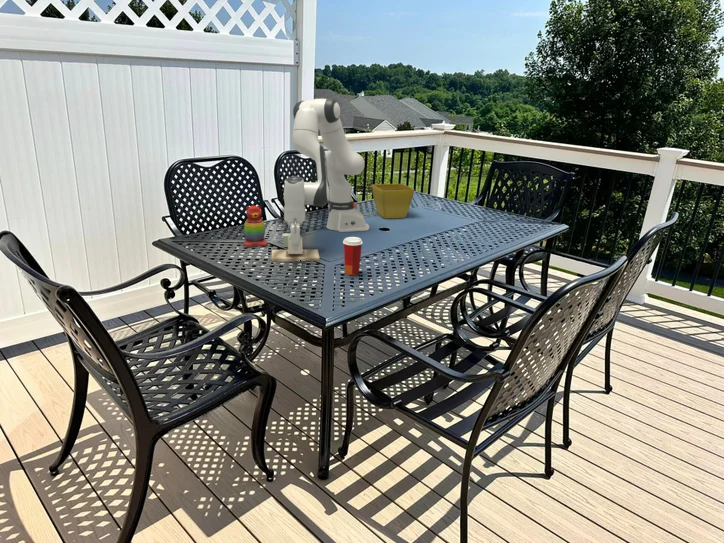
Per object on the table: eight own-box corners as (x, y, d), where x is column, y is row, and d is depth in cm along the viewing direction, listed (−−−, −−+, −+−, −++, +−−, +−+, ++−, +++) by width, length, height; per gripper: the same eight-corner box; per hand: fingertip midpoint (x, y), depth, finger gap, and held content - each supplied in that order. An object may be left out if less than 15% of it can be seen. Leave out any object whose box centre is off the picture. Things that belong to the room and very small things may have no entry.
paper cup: (361, 269, 209) (362, 236, 204) (361, 276, 201) (363, 242, 196) (342, 269, 208) (342, 236, 203) (342, 276, 201) (342, 241, 196)
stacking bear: (243, 247, 230) (241, 209, 224) (242, 241, 239) (240, 203, 233) (268, 246, 233) (266, 208, 227) (266, 240, 242) (264, 203, 236)
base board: (317, 251, 228) (317, 249, 228) (319, 260, 217) (319, 257, 216) (272, 252, 225) (272, 249, 225) (271, 261, 214) (271, 258, 214)
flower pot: (370, 212, 300) (371, 184, 294) (400, 211, 305) (402, 183, 299) (381, 220, 283) (382, 190, 277) (412, 219, 288) (414, 189, 282)
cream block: (302, 249, 224) (302, 236, 221) (302, 253, 218) (302, 240, 216) (288, 249, 223) (288, 236, 221) (288, 254, 217) (288, 240, 215)
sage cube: (293, 244, 237) (292, 233, 235) (293, 247, 233) (293, 236, 231) (283, 244, 236) (282, 233, 234) (283, 247, 232) (282, 236, 230)
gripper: (303, 222, 206) (303, 255, 211) (301, 210, 225) (301, 240, 229) (287, 222, 205) (287, 255, 210) (287, 210, 224) (287, 240, 229)
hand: (295, 247), depth 220 cm, fingers closed on cream block, 6 cm apart
